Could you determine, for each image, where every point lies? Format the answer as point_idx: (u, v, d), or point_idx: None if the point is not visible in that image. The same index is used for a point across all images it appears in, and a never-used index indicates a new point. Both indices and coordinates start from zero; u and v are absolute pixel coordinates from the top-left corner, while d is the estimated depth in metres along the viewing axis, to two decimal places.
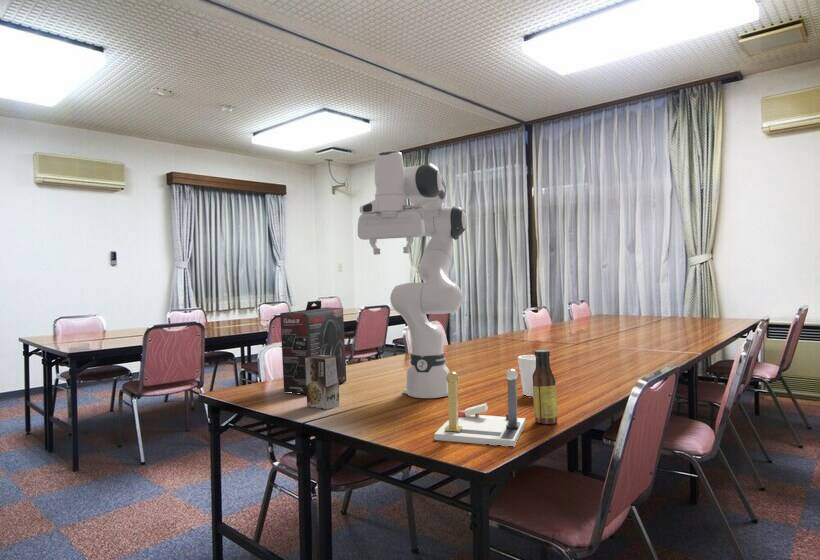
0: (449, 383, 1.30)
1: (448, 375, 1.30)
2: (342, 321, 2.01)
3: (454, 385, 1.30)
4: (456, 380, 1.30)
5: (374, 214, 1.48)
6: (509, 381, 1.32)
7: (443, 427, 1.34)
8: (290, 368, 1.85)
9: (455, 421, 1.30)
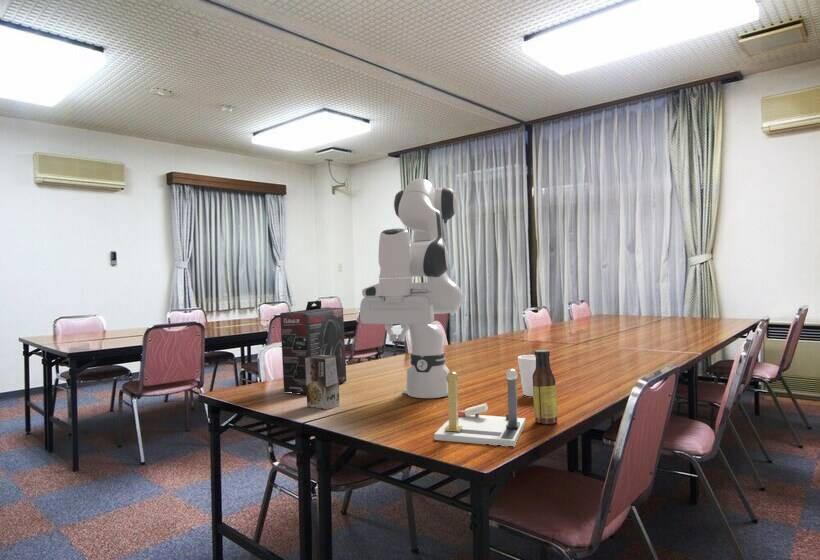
0: (449, 383, 1.30)
1: (448, 375, 1.30)
2: (342, 321, 2.01)
3: (454, 385, 1.30)
4: (456, 380, 1.30)
5: (378, 298, 1.35)
6: (509, 381, 1.32)
7: (443, 427, 1.34)
8: (290, 368, 1.85)
9: (455, 421, 1.30)
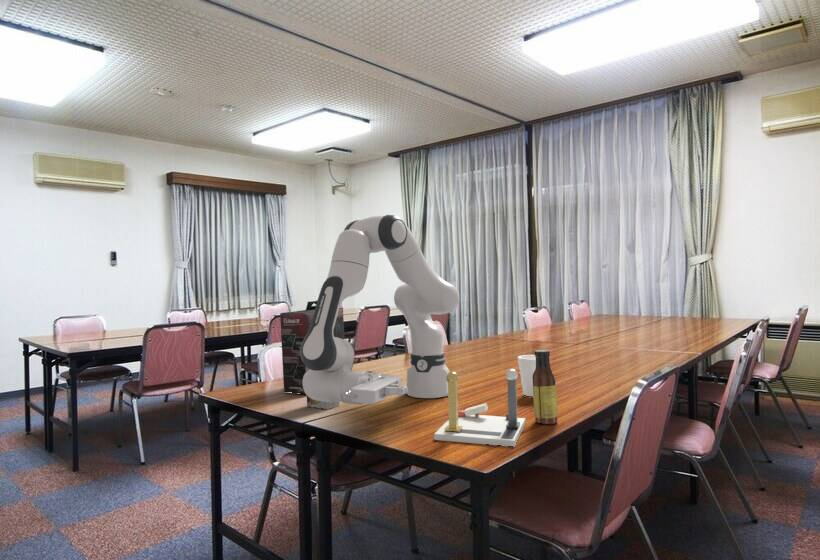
0: (449, 383, 1.30)
1: (448, 375, 1.30)
2: (342, 321, 2.01)
3: (454, 385, 1.30)
4: (456, 380, 1.30)
5: None
6: (509, 381, 1.32)
7: (443, 427, 1.34)
8: (290, 368, 1.85)
9: (455, 421, 1.30)
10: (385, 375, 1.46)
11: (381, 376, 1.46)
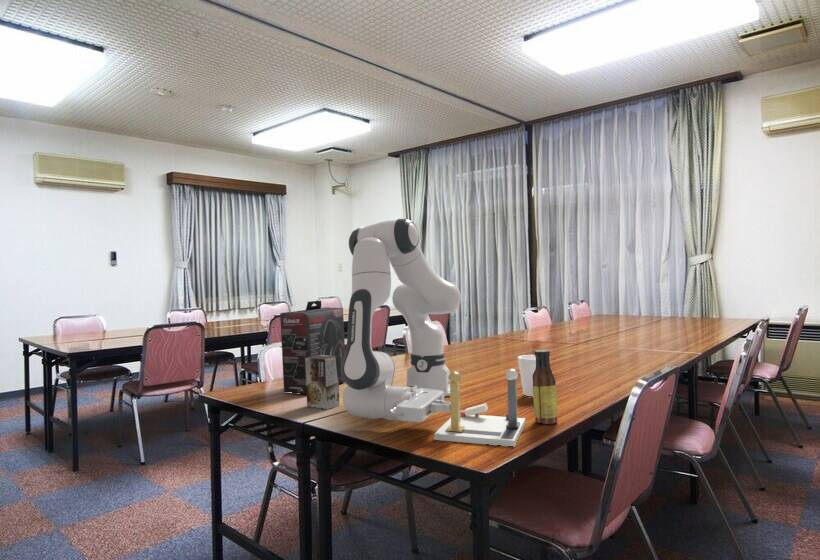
0: (451, 383, 1.30)
1: (450, 375, 1.30)
2: (342, 321, 2.01)
3: (456, 385, 1.30)
4: (458, 380, 1.30)
5: None
6: (509, 381, 1.32)
7: (443, 427, 1.34)
8: (290, 368, 1.85)
9: (457, 421, 1.30)
10: (427, 389, 1.42)
11: (423, 391, 1.42)
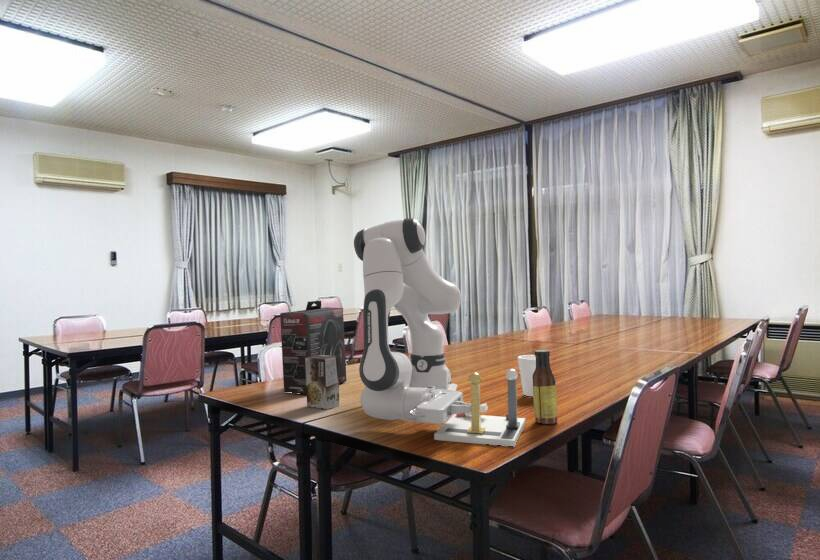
0: (472, 384, 1.28)
1: (471, 376, 1.28)
2: (342, 321, 2.01)
3: (477, 386, 1.28)
4: (479, 381, 1.28)
5: None
6: (509, 381, 1.32)
7: (443, 427, 1.34)
8: (290, 368, 1.85)
9: (478, 423, 1.28)
10: (445, 390, 1.40)
11: (441, 392, 1.40)
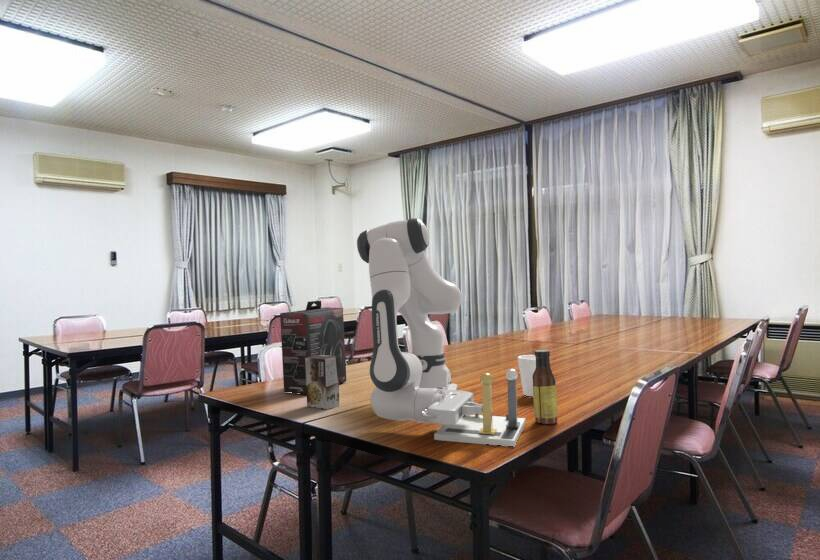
0: (483, 385, 1.27)
1: (482, 377, 1.27)
2: (342, 321, 2.01)
3: (489, 387, 1.27)
4: (491, 382, 1.27)
5: None
6: (509, 381, 1.32)
7: (443, 427, 1.34)
8: (290, 368, 1.85)
9: (490, 424, 1.27)
10: (456, 391, 1.39)
11: (451, 392, 1.39)
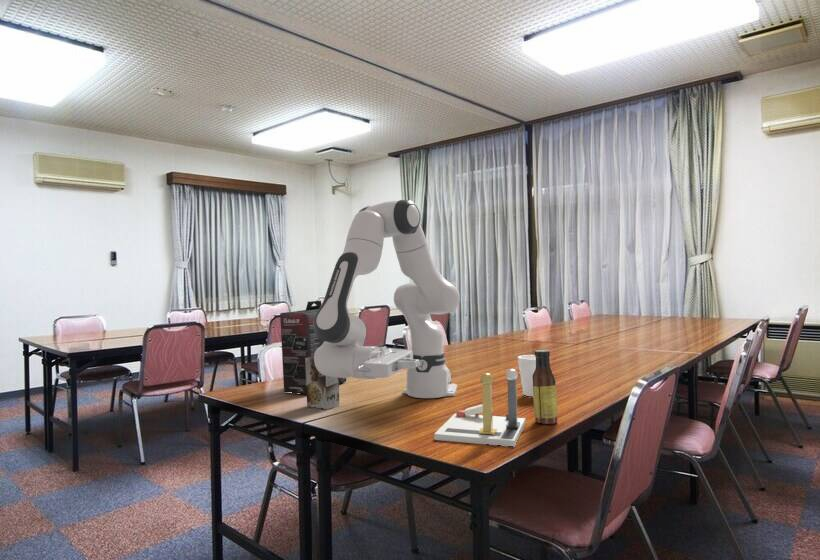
0: (483, 385, 1.27)
1: (482, 377, 1.27)
2: None
3: (489, 387, 1.27)
4: (491, 382, 1.27)
5: None
6: (509, 381, 1.32)
7: (443, 427, 1.34)
8: (290, 368, 1.85)
9: (490, 424, 1.27)
10: (396, 349, 1.46)
11: (392, 351, 1.45)
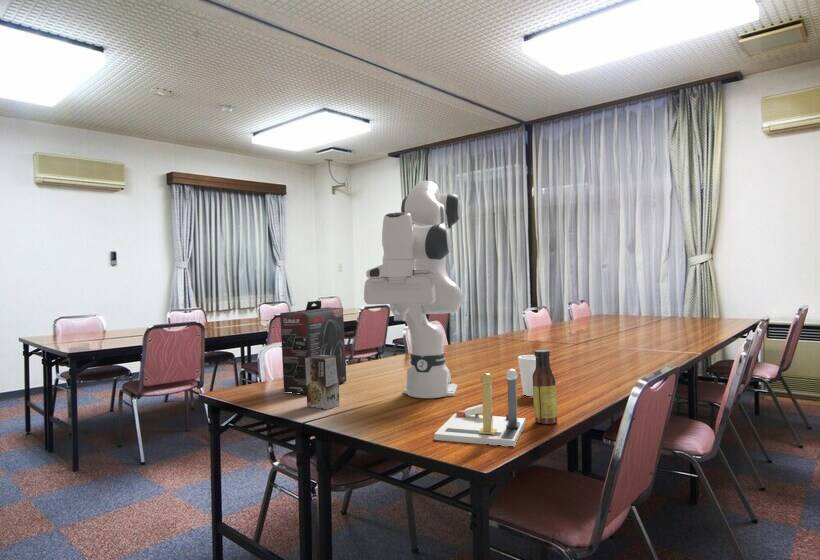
0: (483, 385, 1.27)
1: (482, 377, 1.27)
2: (342, 321, 2.01)
3: (489, 387, 1.27)
4: (491, 382, 1.27)
5: (382, 279, 1.40)
6: (509, 381, 1.32)
7: (443, 427, 1.34)
8: (290, 368, 1.85)
9: (490, 424, 1.27)
10: None
11: None
